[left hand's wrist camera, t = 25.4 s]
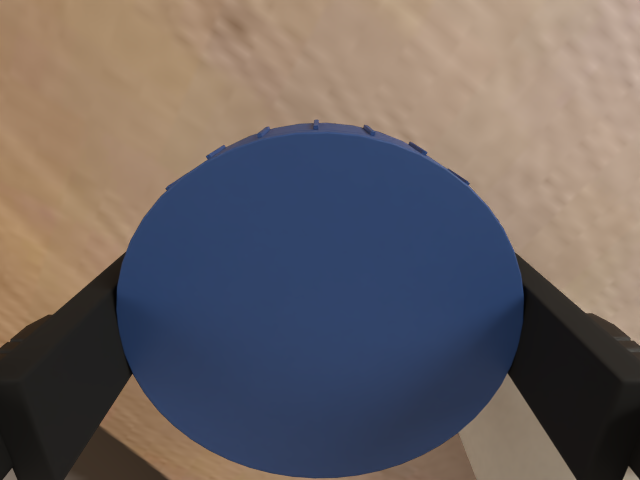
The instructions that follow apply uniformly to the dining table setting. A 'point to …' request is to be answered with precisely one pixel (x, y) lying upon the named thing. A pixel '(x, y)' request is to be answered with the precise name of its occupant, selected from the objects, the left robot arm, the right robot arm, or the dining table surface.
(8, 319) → the dining table surface
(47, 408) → the left robot arm
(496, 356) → the lid
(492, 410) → the jar
